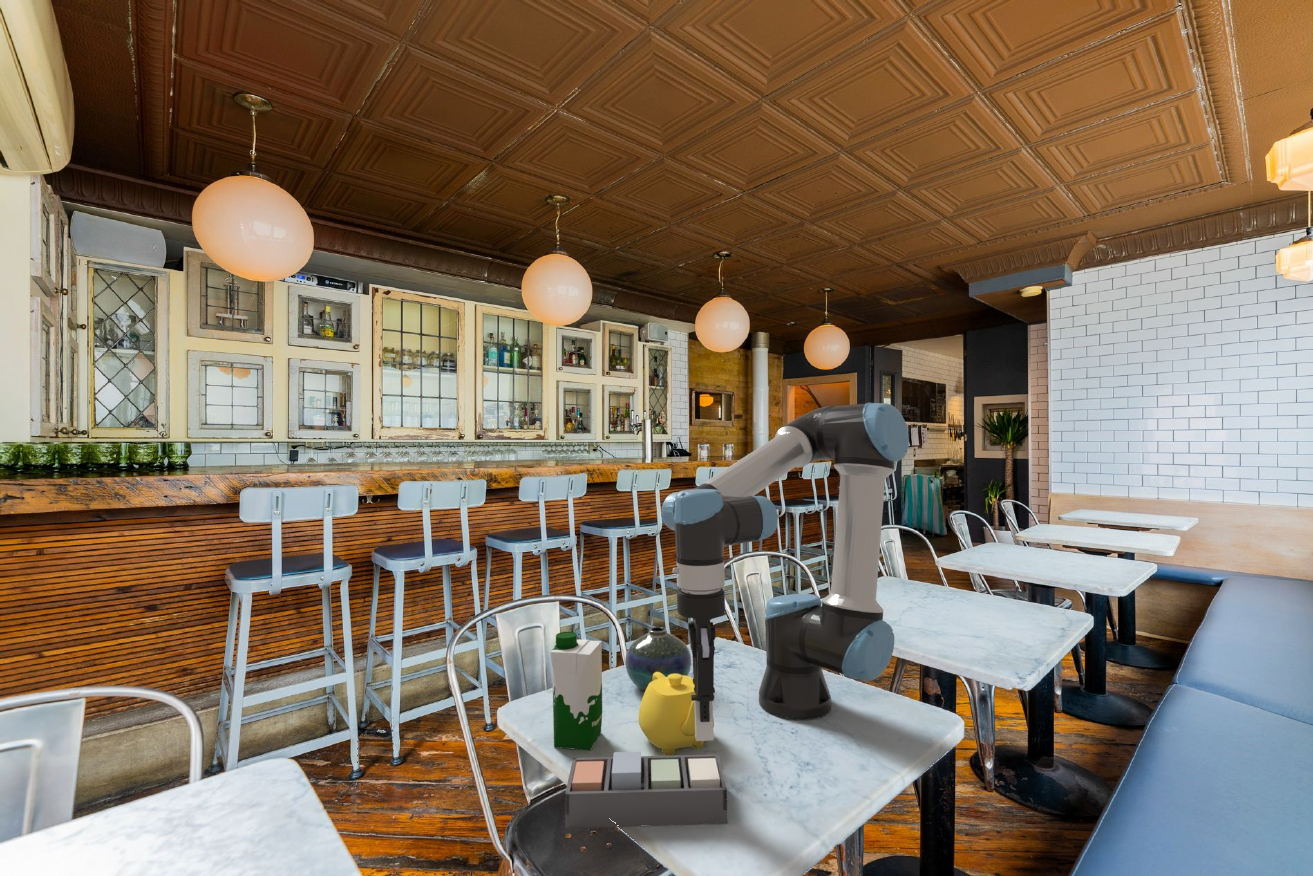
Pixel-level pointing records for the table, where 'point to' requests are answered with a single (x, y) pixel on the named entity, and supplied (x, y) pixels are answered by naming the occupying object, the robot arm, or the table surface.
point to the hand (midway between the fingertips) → (704, 738)
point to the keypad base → (646, 799)
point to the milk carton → (576, 691)
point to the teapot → (669, 713)
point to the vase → (656, 657)
